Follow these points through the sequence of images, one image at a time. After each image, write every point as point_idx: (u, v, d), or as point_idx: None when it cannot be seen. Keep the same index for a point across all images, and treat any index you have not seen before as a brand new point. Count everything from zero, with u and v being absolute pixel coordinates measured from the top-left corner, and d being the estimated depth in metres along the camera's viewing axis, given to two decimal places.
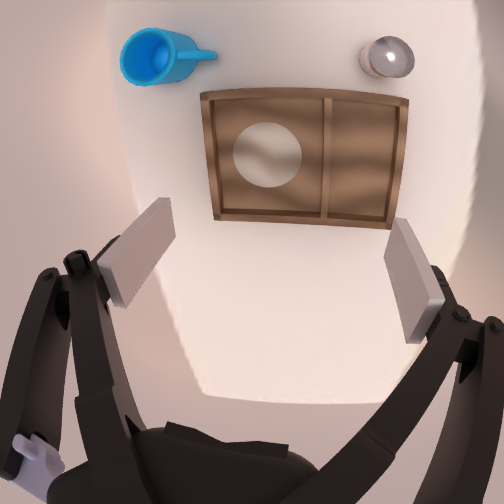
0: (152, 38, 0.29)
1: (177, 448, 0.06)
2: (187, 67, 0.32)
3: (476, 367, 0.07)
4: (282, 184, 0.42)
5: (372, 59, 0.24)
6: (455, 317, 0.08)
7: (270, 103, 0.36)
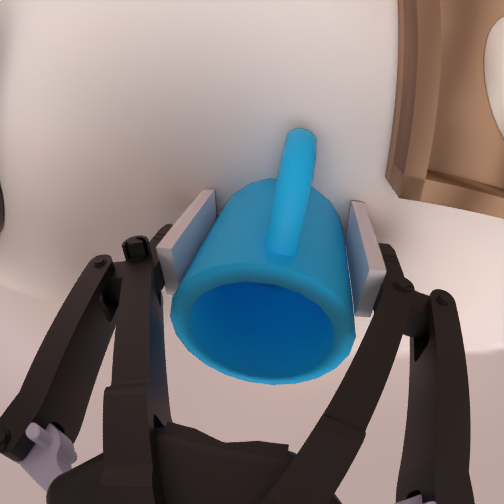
0: (213, 289, 0.16)
1: (177, 448, 0.06)
2: (320, 215, 0.14)
3: (429, 343, 0.08)
4: None
5: None
6: (397, 288, 0.10)
7: (443, 31, 0.08)
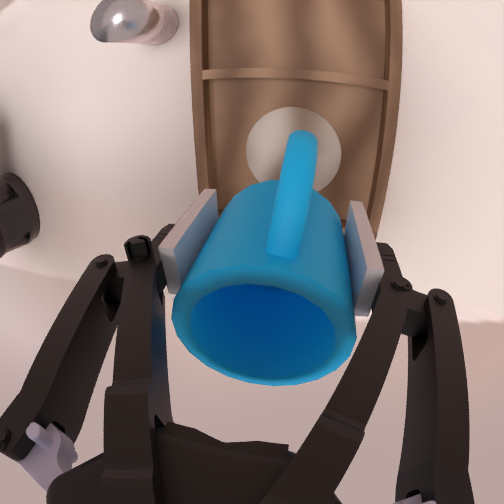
0: (214, 290, 0.16)
1: (177, 448, 0.06)
2: (321, 217, 0.14)
3: (427, 343, 0.08)
4: (337, 137, 0.27)
5: (120, 38, 0.17)
6: (395, 288, 0.10)
7: (221, 143, 0.29)
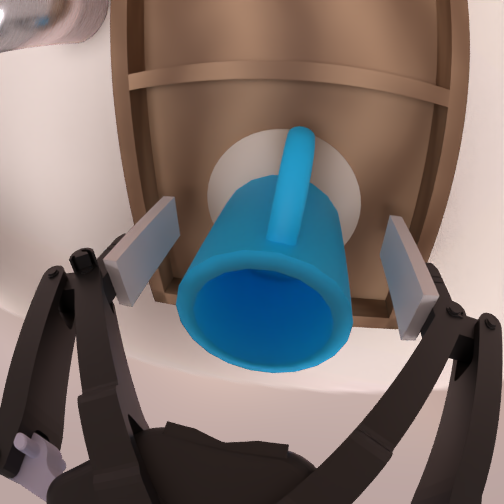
0: (216, 280, 0.16)
1: (177, 448, 0.06)
2: (319, 209, 0.15)
3: (471, 364, 0.07)
4: (356, 181, 0.16)
5: None
6: (449, 313, 0.09)
7: (170, 188, 0.19)
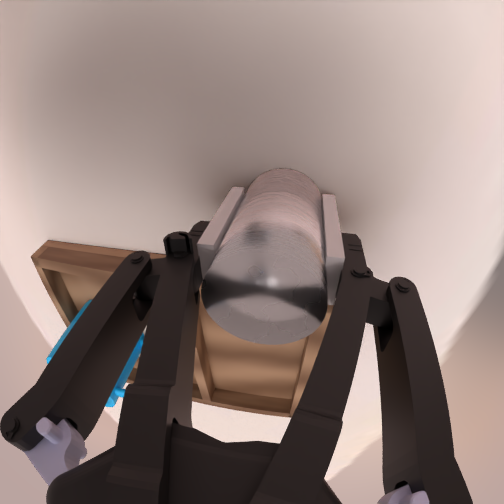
0: None
1: (177, 448, 0.06)
2: (133, 366, 0.27)
3: (394, 333, 0.09)
4: None
5: None
6: (355, 275, 0.11)
7: None
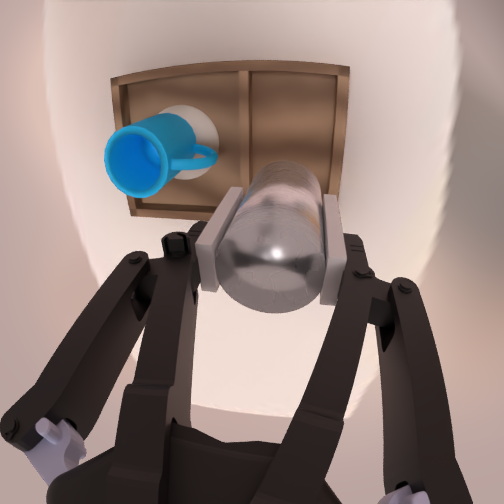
0: None
1: (177, 448, 0.06)
2: None
3: (396, 333, 0.09)
4: (199, 175, 0.36)
5: None
6: (357, 276, 0.11)
7: (183, 83, 0.29)
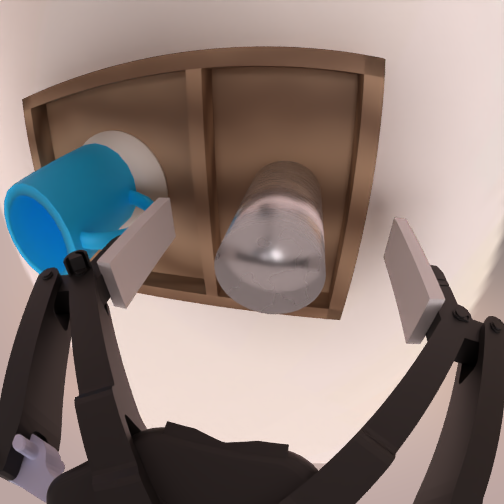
0: None
1: (177, 448, 0.06)
2: (115, 228, 0.21)
3: (476, 367, 0.07)
4: None
5: None
6: (455, 317, 0.08)
7: (111, 97, 0.18)
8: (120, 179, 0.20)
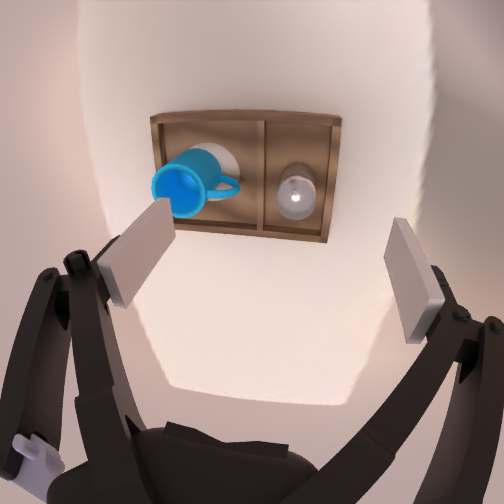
0: None
1: (177, 448, 0.06)
2: None
3: (476, 367, 0.07)
4: (223, 198, 0.47)
5: None
6: (455, 317, 0.08)
7: (211, 125, 0.40)
8: (217, 168, 0.42)
